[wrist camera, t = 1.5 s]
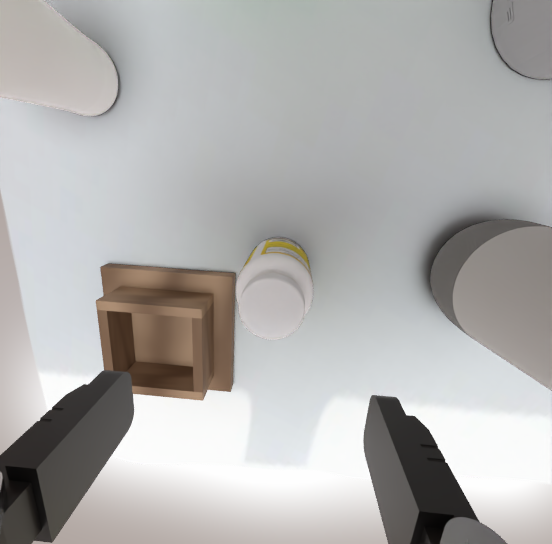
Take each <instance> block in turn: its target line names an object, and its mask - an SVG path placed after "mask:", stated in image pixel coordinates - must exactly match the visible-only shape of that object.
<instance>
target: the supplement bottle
mask: <svg viewBox="0 0 552 544" xmlns="http://www.w3.org/2000/svg"><path fill="white" fill-rule="evenodd" d="M313 295H314V288H313V281H312V276H311V271H310V266H309V261H308V258H307V255H306V253H305V252H304V250H303V249H302V248H301V247H300V246H299V245H298V244H297V243H296V242H294V241H292V240H290V239H287V238H282V237H274V238H270V239H267V240H265V241H263V242H261V243H260V244H259V245H258V246H257V247H256V248H255V249H254V250H253V252H252V253H251V255H250V257H249V258H248V260H247V262H246V263H245V265H244V267H243V269H242V270H241V272H240V274H239V276H238V279H237V283H236V299H237V302H238V310H239V316H240V319H241V321H242V323H243V324H244V326H245V327H246V328H247V329H248V330H249V331H250V332H251V333H253V334H254V335H256V336H258V337H260V338H264V339H270V340H275V339H281V338H285V337H287V336H289V335H291V334H292V333H294V332H295V331H296V330H297V329H298V328H299V326H300V325H301V323H302V321H303V319H304V316H305V315H306V313H307V312H308V310H309V309H310V307H311V304H312V301H313Z"/></svg>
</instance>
